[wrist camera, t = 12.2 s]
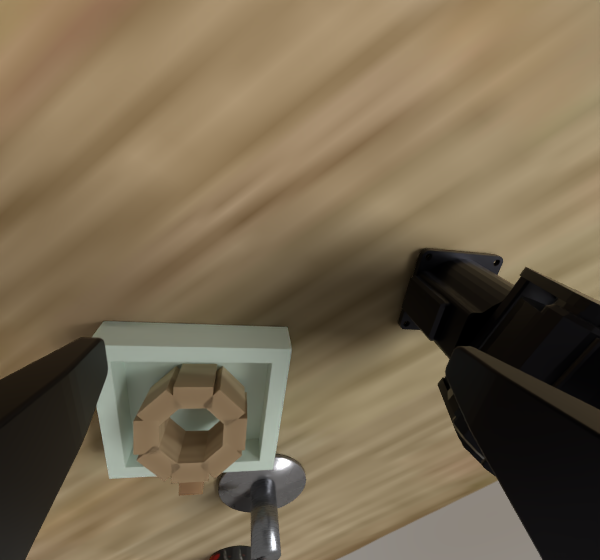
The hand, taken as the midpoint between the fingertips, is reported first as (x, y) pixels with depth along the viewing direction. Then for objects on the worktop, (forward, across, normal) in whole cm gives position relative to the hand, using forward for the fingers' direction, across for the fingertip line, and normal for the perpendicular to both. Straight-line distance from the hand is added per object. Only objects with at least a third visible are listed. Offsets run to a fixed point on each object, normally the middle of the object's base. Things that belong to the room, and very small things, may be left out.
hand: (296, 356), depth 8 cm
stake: (+13, -2, +26) cm, 29 cm away
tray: (+13, +4, +14) cm, 19 cm away
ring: (+12, +4, +14) cm, 19 cm away
